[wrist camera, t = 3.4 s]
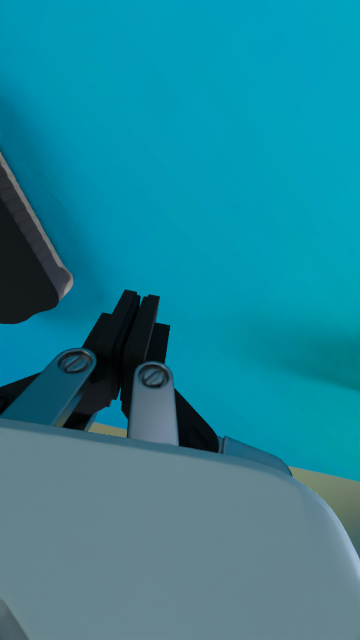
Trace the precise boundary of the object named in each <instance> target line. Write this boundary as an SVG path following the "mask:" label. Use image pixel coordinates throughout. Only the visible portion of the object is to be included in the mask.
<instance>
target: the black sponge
mask: <svg viewBox="0 0 360 640" xmlns="http://www.w3.org/2000/svg"><path fill="white" fill-rule="evenodd" d="M72 285H73V277H72V274H71V273H70V272H69V271H68V270H67V269H66V268H65V266H64V265H63V263H62V262H61V260H60V258H59V256H58V255H57V253H56V252H55V250H54V247H53V245H52V244H51V242H50V240H49V238H48V237H47V235H46V233H45V231H44V230H43V228H42V227H41V224H40V222H39V220H38V219H37V217H36V215H35V213H34V211H33V210H32V208H31V206H30V204H29V203H28V201H27V199H26V197H25V195H24V194H23V192H22V190H21V189H20V186H19V184H18V183H17V181H16V179H15V177H14V175H13V174H12V172H11V170H10V168H9V166H8V164H7V163H6V161H5V159H4V158H3V156H2V154H1V152H0V323H1V324H17V323H20V322H23V321H26V320H27V319H28V318H30V317H31V316H32V315H34V314H37V313H39V312H43V311H47V310H50V309H52V308H54V307H56V306H57V304H58V302H59V300H61V299H62V298H63V297H64V295H65V294H66V293H67V292H68V291H69V290H70V289H71V287H72Z"/></svg>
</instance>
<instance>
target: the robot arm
mask: <svg viewBox="0 0 360 640" xmlns="http://www.w3.org/2000/svg"><path fill="white" fill-rule="evenodd" d="M140 298H141V296H140V295H137V292H135V291H130V290H124V292H123V294H122V296H121V298H120V300H119V302H118V304H117V305H116V307H115V309H114V311H113V313H112V314H108V313H102V314H101V315H100V317H99V319H98V321H97V322H96V324H95V326H94V327H93V329H92V331H91V332H90V334H89V336H88V337H87V339H86V341H85V342H84V344H83V346H82V347H81V348H71V349H67V350H65V351H63V352H61V353H60V354H59V355H57V356H56V357H55V358H54V359H53V360H52V361H51V362H50V364H49V365H48V366H47V367H46V368H45V369H44V370H43V371H42V372H40V373H37V374H34V375H32V376H29V377H26V378H24V379H21V380H18V381H16V382H13V383H10V384H7V385H5V386H2V387H0V640H360V559H359V557H358V555H357V553H356V551H355V549H354V547H353V545H352V543H351V541H350V539H349V537H348V535H347V533H346V531H345V529H344V528H343V526H342V524H341V522H340V521H339V519H338V518H337V516H336V514H335V513H334V512H333V511H332V509H331V508H330V507H329V505H327V503H326V502H325V501H324V500H323V499H322V498H321V497H320V496H318V495H317V494H316V493H315V492H314V491H312V490H311V489H310V488H308V487H307V486H306V485H304V484H302V483H301V482H299V481H298V480H296V479H295V478H293V476H292V473H291V471H290V469H289V468H288V466H287V465H286V464H285V463H284V462H283V461H282V460H281V459H279V458H278V457H276V456H274V455H272V454H269V453H267V452H264V451H262V450H259V449H257V448H254V447H252V446H249V445H247V444H245V443H242V442H240V441H237V440H235V439H232V438H230V437H227V436H225V437H224V438H222V437H220V436H217V435H216V433H215V432H214V431H213V429H212V428H211V427H210V426H209V425H208V424H207V423H206V421H205V420H204V419H203V418H202V417H201V416H200V415H199V414H198V413H197V412H196V411H195V410H194V409H193V407H192V406H191V405H190V404H189V403H188V402H187V401H186V400H185V399H184V398H183V397H182V396H181V394H180V393H179V392H178V391H177V390H176V389H175V388H174V381H173V374H172V371H171V370H170V369H169V367H167V366H166V365H165V357H166V351H167V344H168V337H169V331H170V325H165V324H160V323H156V317H157V311H158V305H159V299H160V296H155V295H150V294H149V295H148V297H145V296H144V297H143V300H142V302H141V305H140ZM139 307H140V308H139ZM120 388H121V394H120V401H122V406H121V410H122V412H123V413H124V415H125V416H126V418H127V419H128V427H127V438H124V437H118V436H111V435H105V434H99V433H92V432H88V431H89V429H90V427H91V425H92V423H93V422H94V420H95V418H96V415H97V412H98V411H99V410H101V409H103V408H105V407H110V404H111V401H112V399H113V400H117V397H118V394H119V391H120Z"/></svg>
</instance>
